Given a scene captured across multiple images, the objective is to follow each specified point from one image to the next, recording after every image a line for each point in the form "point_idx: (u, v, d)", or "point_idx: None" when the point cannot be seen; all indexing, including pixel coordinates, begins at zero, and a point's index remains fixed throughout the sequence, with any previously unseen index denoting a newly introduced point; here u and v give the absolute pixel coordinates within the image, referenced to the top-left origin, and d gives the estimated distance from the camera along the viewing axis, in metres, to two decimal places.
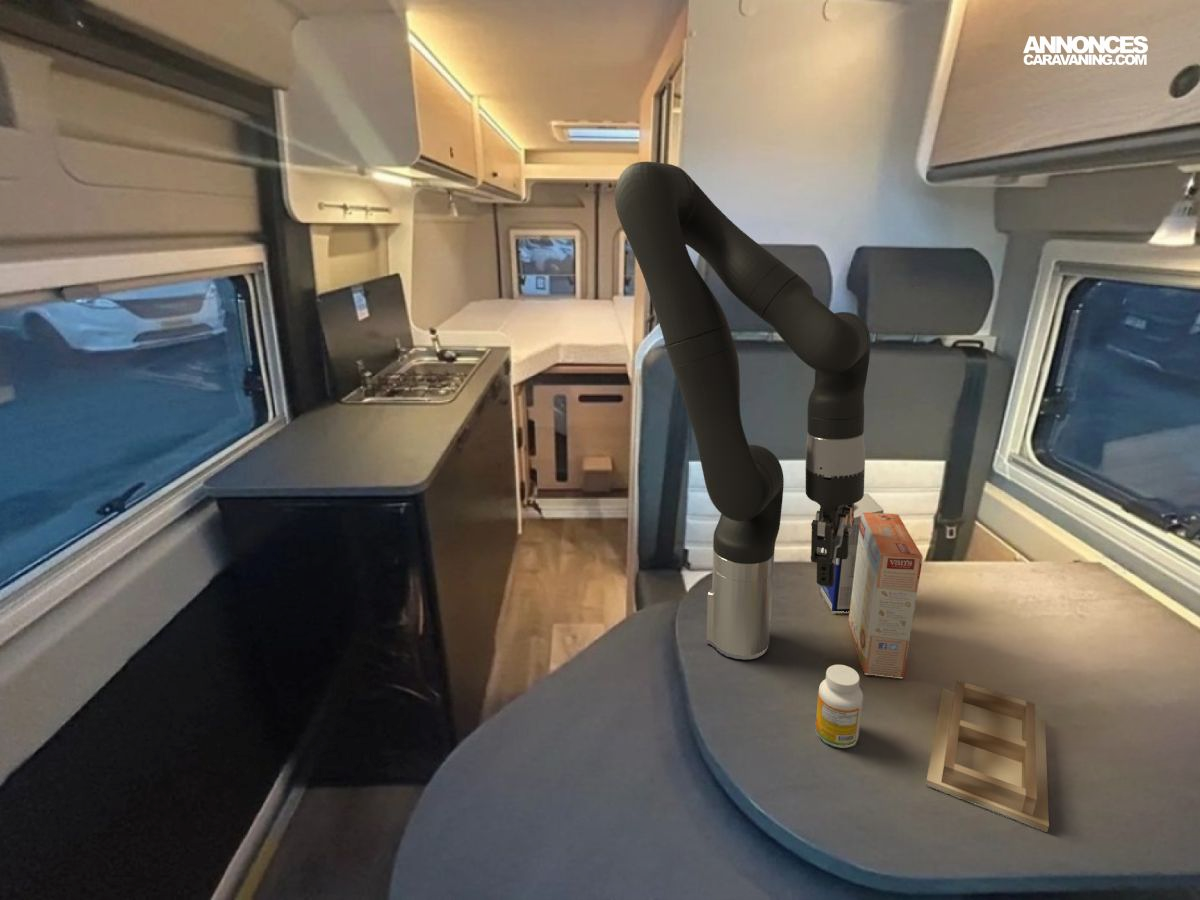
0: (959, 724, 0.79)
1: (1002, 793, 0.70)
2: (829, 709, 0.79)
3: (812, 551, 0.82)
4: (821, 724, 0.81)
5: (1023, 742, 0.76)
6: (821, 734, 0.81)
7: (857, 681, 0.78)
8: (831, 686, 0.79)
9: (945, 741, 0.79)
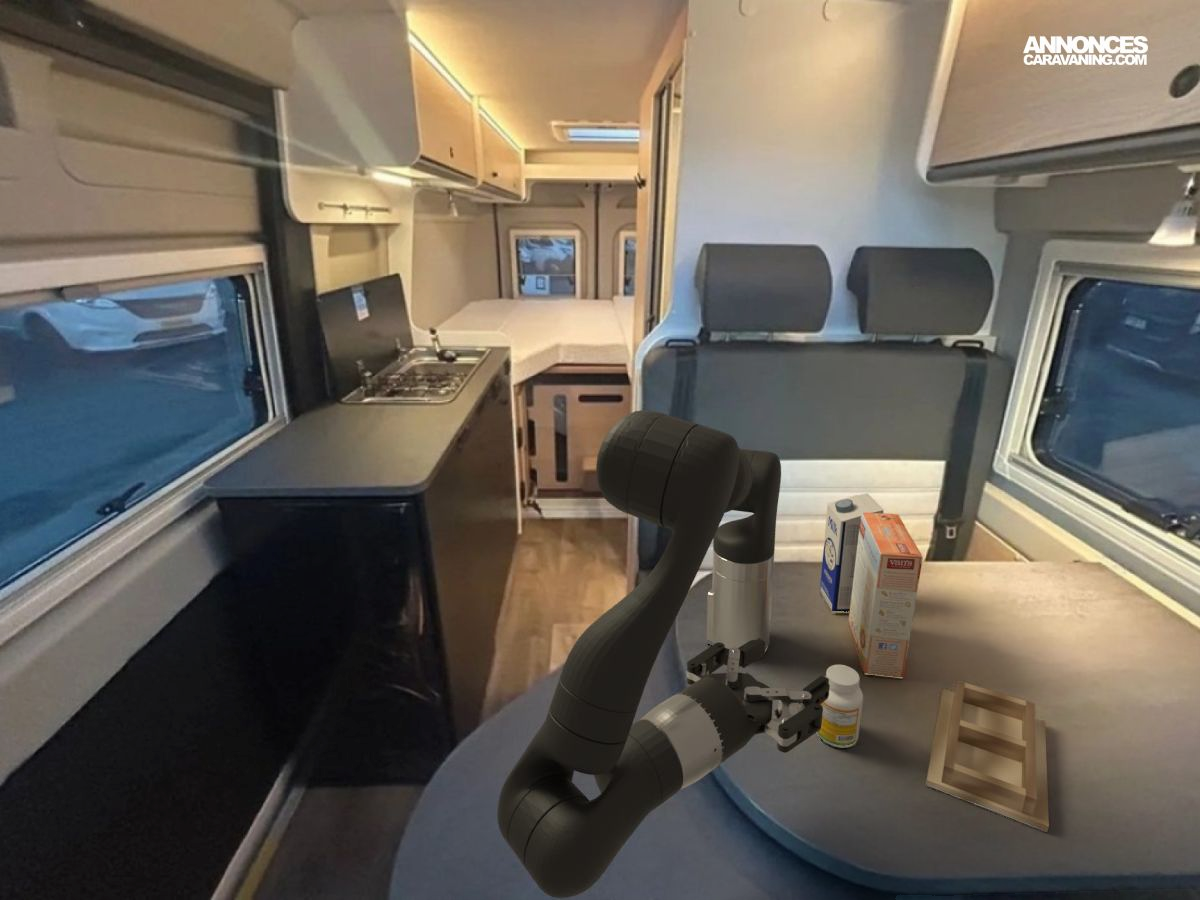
0: (959, 724, 0.79)
1: (1002, 793, 0.70)
2: (829, 709, 0.79)
3: None
4: (821, 724, 0.81)
5: (1023, 742, 0.76)
6: (821, 734, 0.81)
7: (857, 681, 0.78)
8: (831, 686, 0.79)
9: (945, 741, 0.79)
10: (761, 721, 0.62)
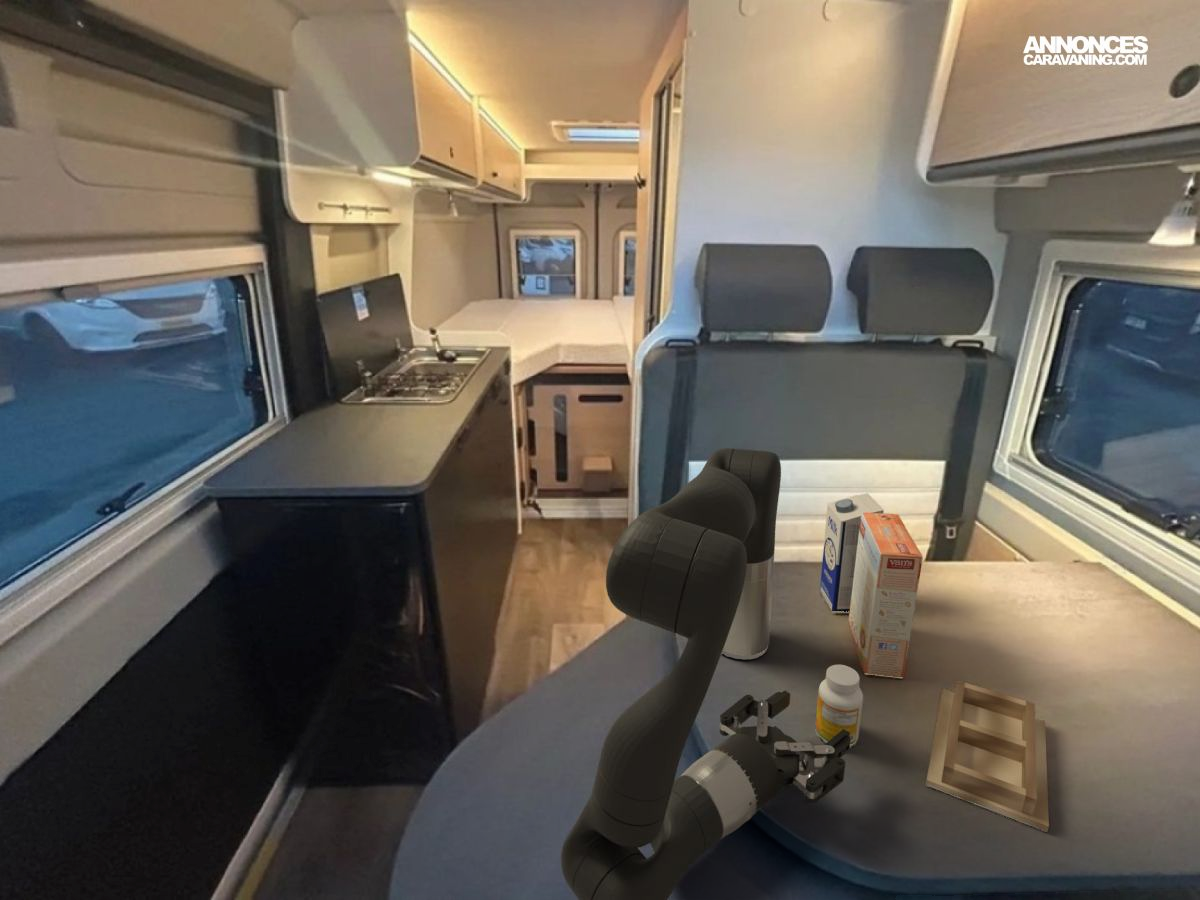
0: (959, 724, 0.79)
1: (1002, 793, 0.70)
2: (829, 709, 0.79)
3: (739, 701, 0.79)
4: (821, 724, 0.81)
5: (1023, 742, 0.76)
6: (821, 734, 0.81)
7: (857, 681, 0.78)
8: (831, 686, 0.79)
9: (945, 741, 0.79)
10: (790, 775, 0.69)
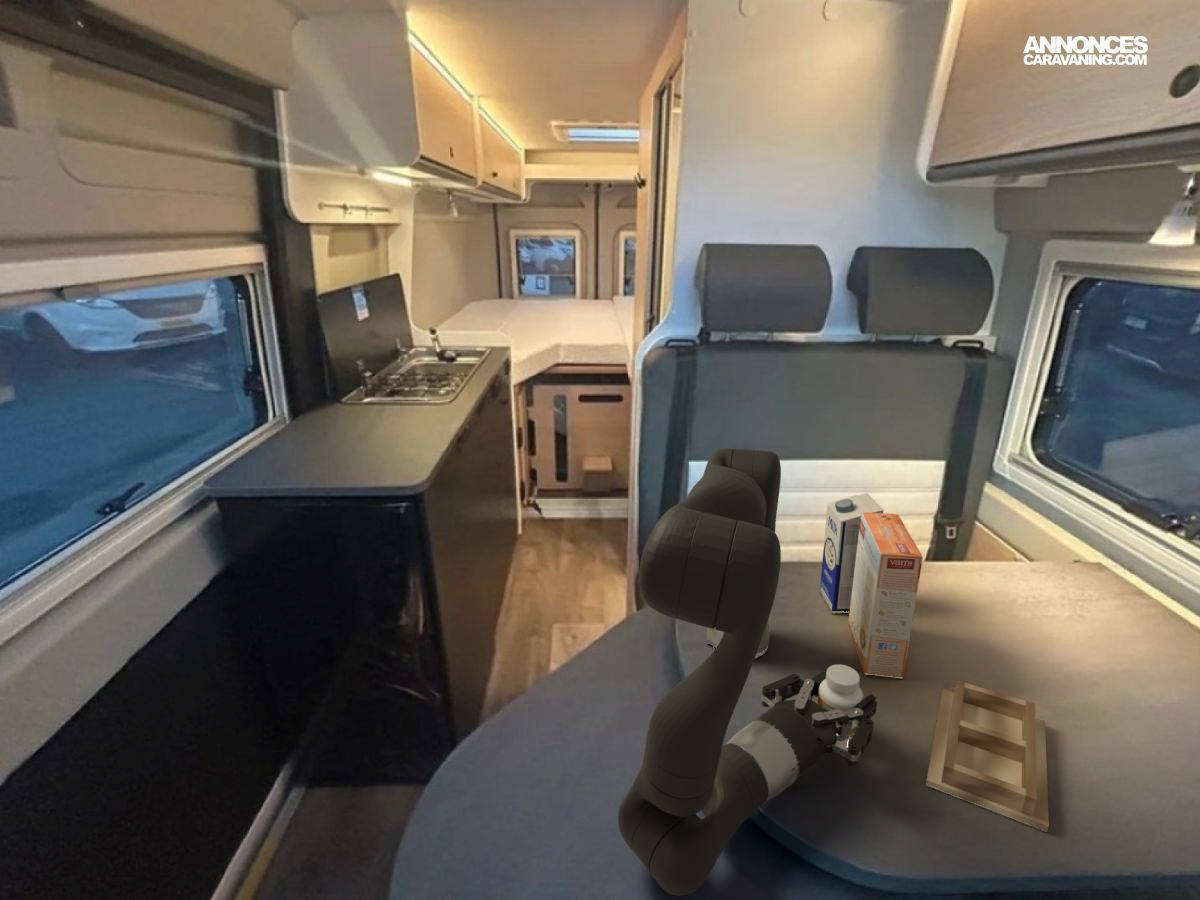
0: (959, 724, 0.79)
1: (1002, 793, 0.70)
2: (829, 709, 0.79)
3: (785, 678, 0.83)
4: None
5: (1023, 742, 0.76)
6: None
7: (857, 681, 0.78)
8: (831, 686, 0.79)
9: (945, 741, 0.79)
10: (831, 743, 0.73)
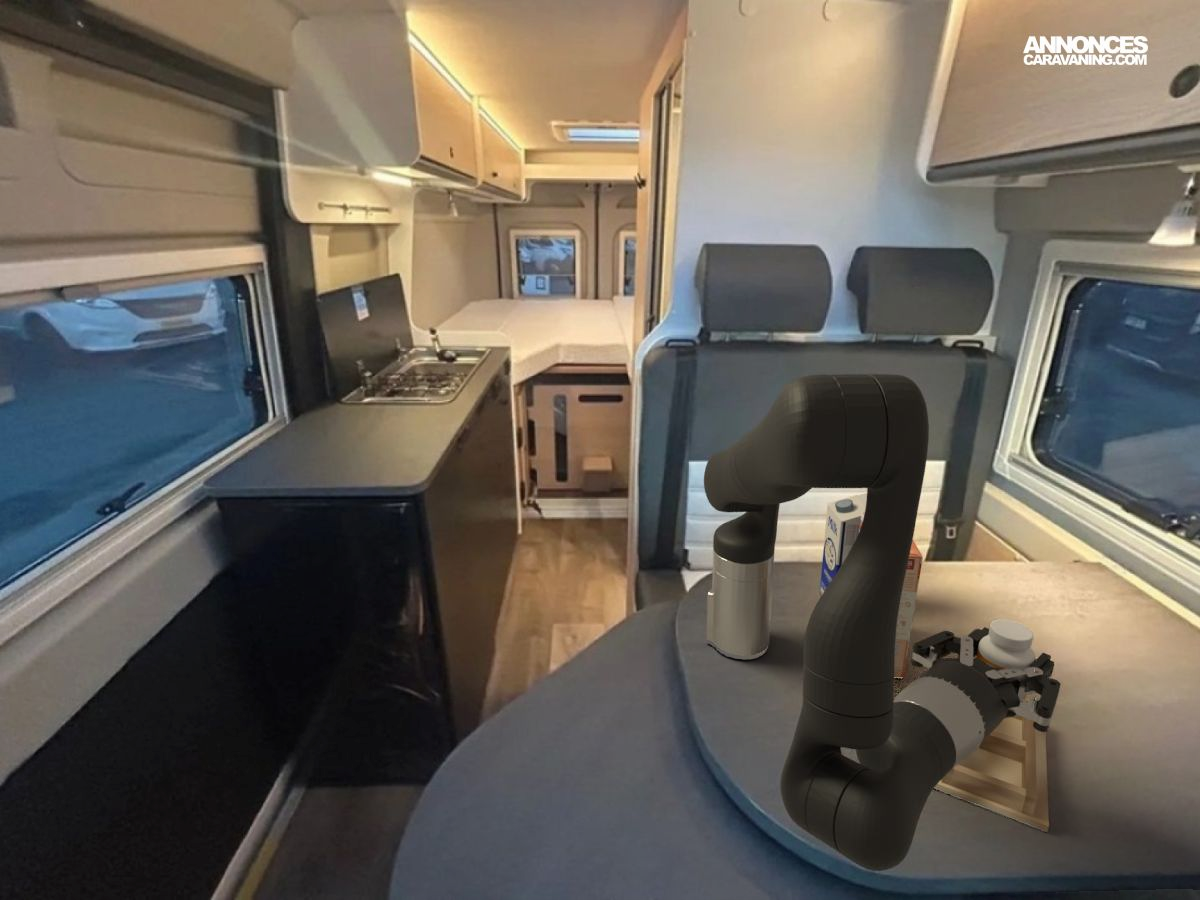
0: None
1: (1002, 793, 0.70)
2: None
3: None
4: None
5: (1023, 742, 0.76)
6: None
7: (1031, 636, 0.67)
8: (999, 642, 0.67)
9: None
10: (1015, 705, 0.61)
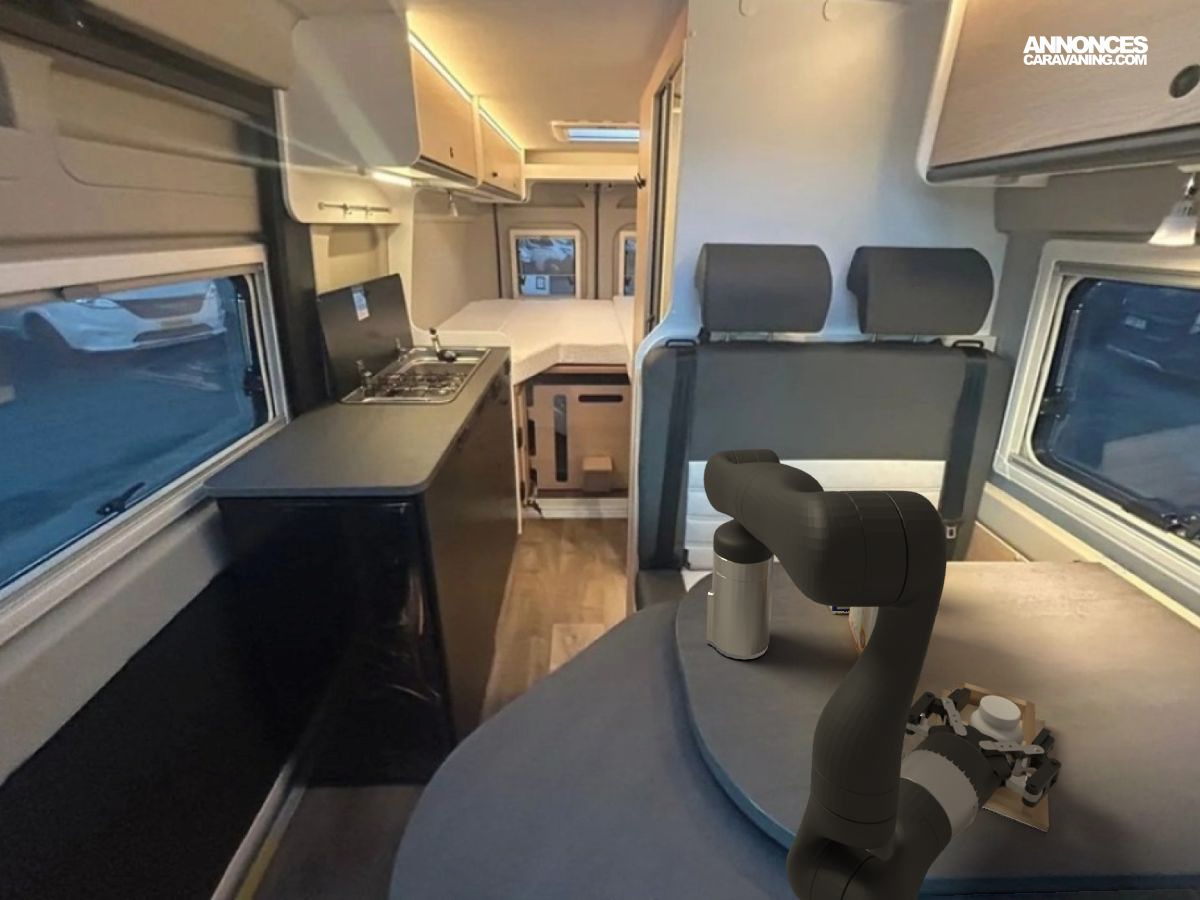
0: None
1: (1002, 793, 0.70)
2: None
3: (920, 698, 0.75)
4: None
5: (1023, 742, 0.76)
6: None
7: (1019, 715, 0.70)
8: (989, 720, 0.71)
9: None
10: (1004, 776, 0.64)
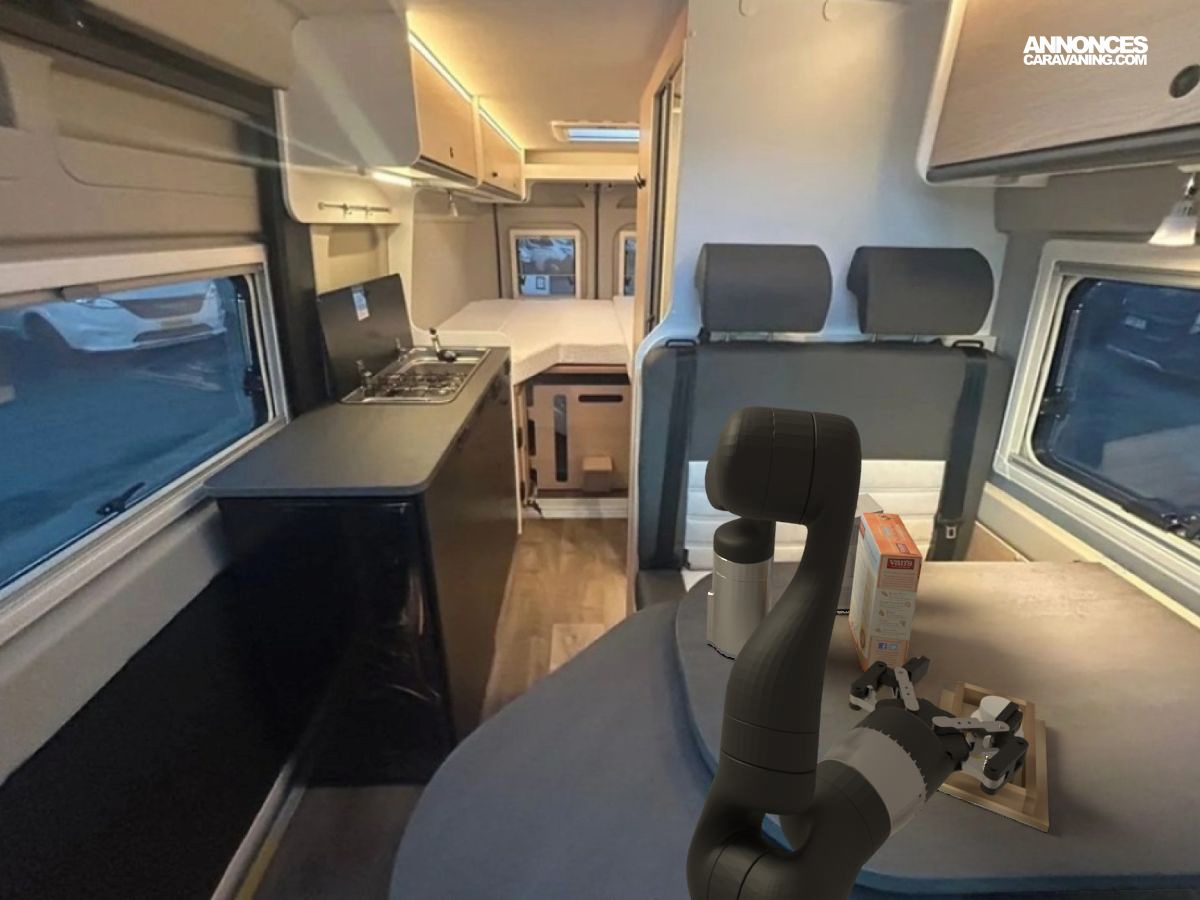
0: None
1: (1002, 793, 0.70)
2: None
3: None
4: None
5: None
6: None
7: None
8: None
9: None
10: (960, 758, 0.54)
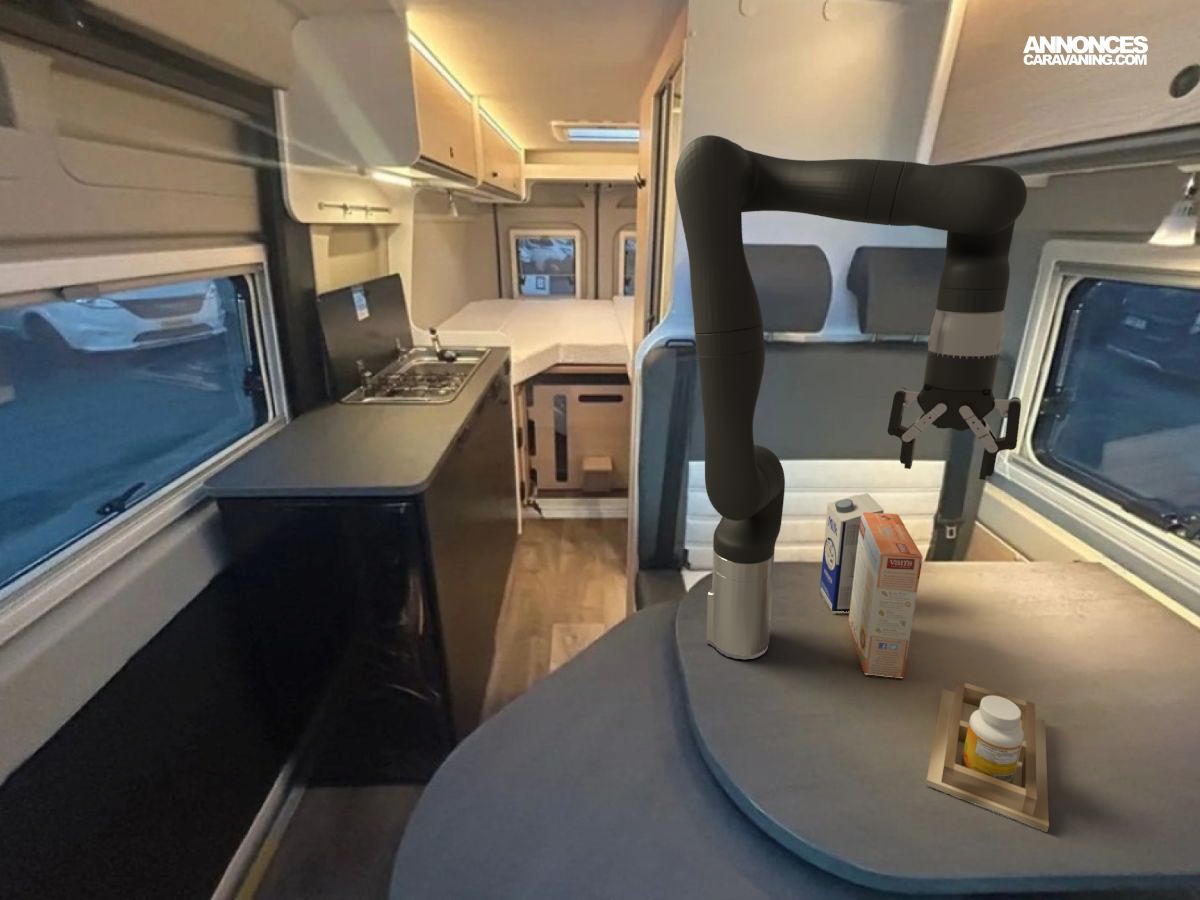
0: (959, 724, 0.79)
1: (1002, 793, 0.70)
2: (986, 746, 0.71)
3: None
4: (973, 761, 0.73)
5: (1023, 742, 0.76)
6: None
7: (1019, 715, 0.70)
8: (989, 720, 0.71)
9: (945, 741, 0.79)
10: None
